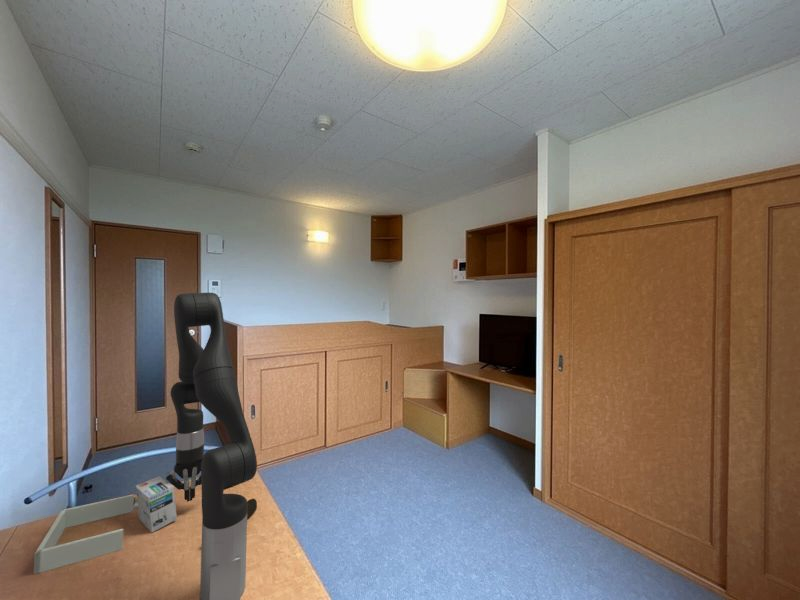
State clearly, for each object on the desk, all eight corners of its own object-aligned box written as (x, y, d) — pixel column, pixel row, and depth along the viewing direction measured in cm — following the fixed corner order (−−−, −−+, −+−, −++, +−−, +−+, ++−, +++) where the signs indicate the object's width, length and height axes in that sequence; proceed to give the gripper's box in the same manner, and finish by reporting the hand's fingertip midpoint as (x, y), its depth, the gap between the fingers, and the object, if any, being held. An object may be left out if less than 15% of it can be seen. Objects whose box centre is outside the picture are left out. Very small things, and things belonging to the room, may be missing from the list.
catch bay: (121, 549, 90) (122, 530, 90) (33, 574, 81) (34, 553, 81) (133, 510, 107) (133, 494, 107) (61, 527, 98) (62, 509, 98)
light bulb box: (177, 519, 101) (174, 485, 101) (151, 533, 96) (148, 497, 95) (163, 507, 108) (160, 474, 107) (137, 519, 102) (134, 485, 101)
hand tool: (212, 552, 89) (213, 535, 90) (201, 548, 91) (201, 531, 91) (263, 512, 107) (263, 497, 107) (253, 509, 109) (253, 494, 109)
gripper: (163, 453, 99) (163, 512, 99) (214, 443, 106) (214, 499, 106) (165, 444, 106) (165, 500, 105) (213, 436, 113) (213, 488, 112)
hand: (189, 499), depth 106 cm, fingers closed
